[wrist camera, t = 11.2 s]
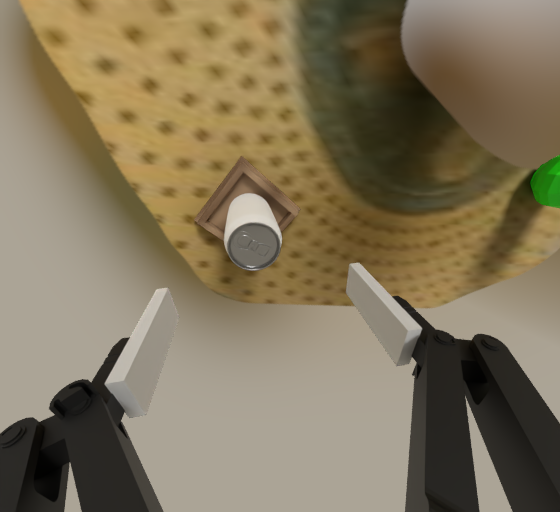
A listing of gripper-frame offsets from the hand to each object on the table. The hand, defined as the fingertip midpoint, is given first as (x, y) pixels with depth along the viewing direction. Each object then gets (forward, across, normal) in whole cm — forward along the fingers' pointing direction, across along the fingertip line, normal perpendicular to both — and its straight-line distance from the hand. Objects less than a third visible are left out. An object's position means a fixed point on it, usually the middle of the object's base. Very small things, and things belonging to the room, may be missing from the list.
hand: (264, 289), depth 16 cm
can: (+20, 0, 0) cm, 20 cm away
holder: (+21, 0, 0) cm, 21 cm away
